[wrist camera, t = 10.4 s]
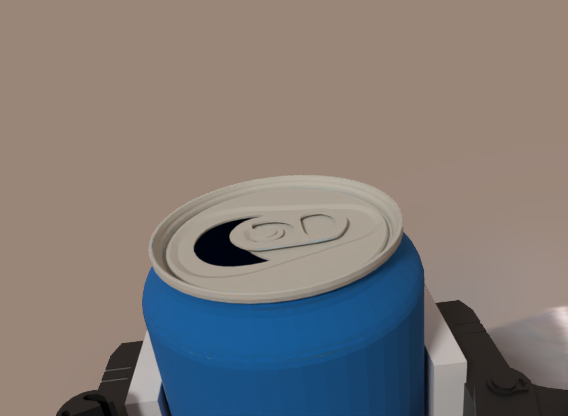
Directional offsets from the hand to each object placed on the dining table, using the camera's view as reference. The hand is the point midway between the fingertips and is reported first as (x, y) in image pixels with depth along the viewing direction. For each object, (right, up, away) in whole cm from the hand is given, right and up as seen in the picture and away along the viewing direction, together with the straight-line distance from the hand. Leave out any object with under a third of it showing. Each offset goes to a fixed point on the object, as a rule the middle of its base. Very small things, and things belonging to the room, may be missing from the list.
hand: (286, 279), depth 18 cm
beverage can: (+1, -9, -1) cm, 9 cm away
